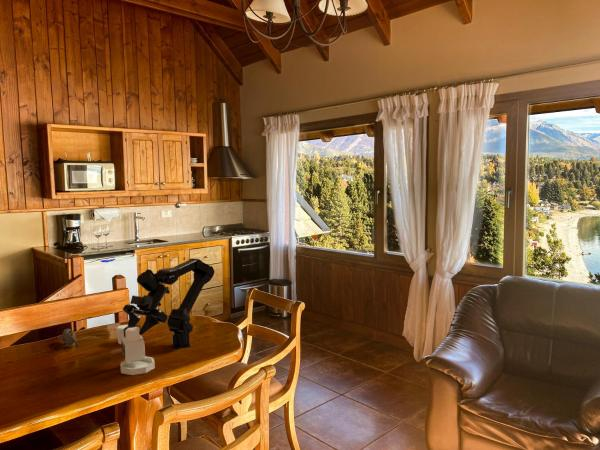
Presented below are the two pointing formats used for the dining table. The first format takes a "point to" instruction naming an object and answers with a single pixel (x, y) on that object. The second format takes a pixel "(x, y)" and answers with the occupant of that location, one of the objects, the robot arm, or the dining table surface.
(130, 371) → the bowl
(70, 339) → the dog figurine
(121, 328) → the shot glass
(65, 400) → the dining table surface
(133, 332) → the medicine bottle
